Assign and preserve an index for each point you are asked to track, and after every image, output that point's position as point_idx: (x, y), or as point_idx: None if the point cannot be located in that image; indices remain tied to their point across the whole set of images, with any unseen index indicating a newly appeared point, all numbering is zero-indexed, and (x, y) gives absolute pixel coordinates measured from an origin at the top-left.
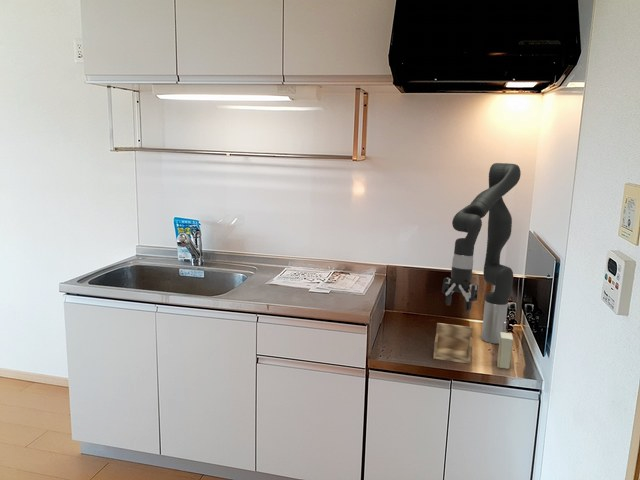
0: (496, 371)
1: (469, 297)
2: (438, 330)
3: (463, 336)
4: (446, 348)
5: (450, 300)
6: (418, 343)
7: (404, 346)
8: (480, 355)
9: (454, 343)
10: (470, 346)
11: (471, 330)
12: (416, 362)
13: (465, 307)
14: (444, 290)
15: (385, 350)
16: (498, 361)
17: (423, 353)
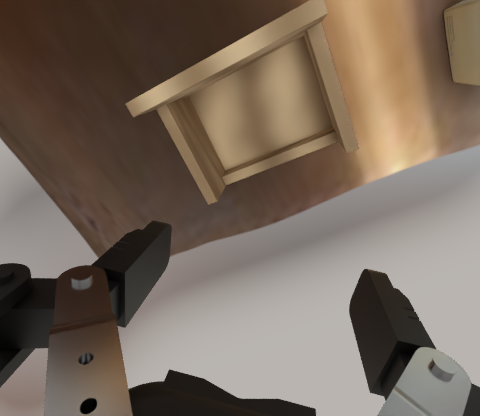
0: (452, 123)
1: (418, 397)
2: (158, 107)
3: (275, 46)
4: (219, 83)
5: (151, 254)
6: (114, 96)
7: (106, 157)
8: (356, 9)
9: (242, 66)
10: (351, 150)
11: (317, 19)
12: (203, 232)
13: (357, 332)
14: (19, 365)
15: (97, 219)
16: (469, 84)
17: (179, 164)
